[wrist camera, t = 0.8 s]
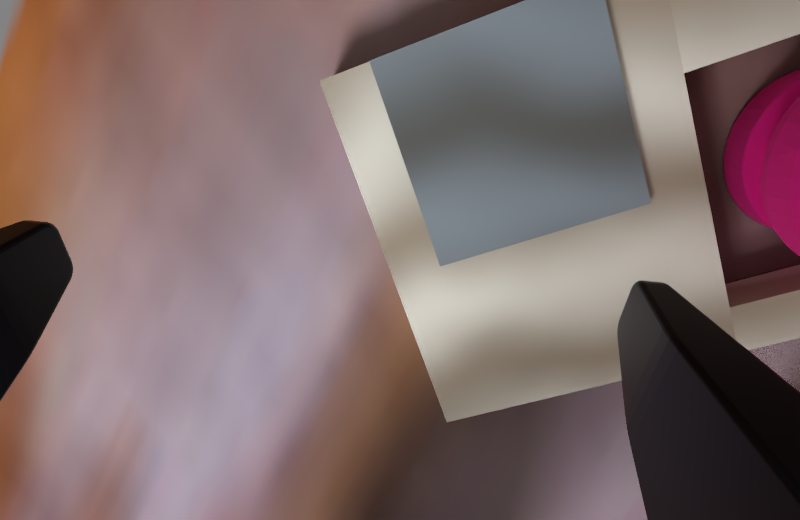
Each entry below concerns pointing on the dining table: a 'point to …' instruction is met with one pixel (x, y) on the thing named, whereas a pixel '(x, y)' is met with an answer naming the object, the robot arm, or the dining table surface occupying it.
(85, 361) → the dining table surface
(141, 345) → the dining table surface
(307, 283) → the dining table surface
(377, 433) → the dining table surface
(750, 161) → the pepper mill
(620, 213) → the puzzle board
